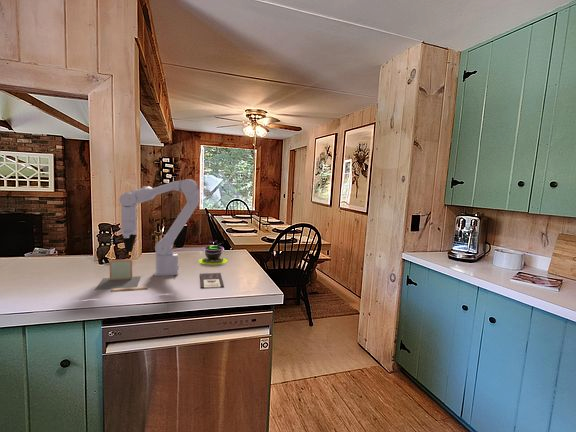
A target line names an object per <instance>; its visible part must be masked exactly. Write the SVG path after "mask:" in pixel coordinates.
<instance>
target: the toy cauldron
mask: <svg viewBox="0 0 576 432" xmlns="http://www.w3.org/2000/svg"><path fill="white" fill-rule="evenodd" d="M217 241H218V240H216V242H217ZM210 243H213V241H210ZM221 244H222V243H219V245H218V244H216V245H208V246H204V247H202V248H201V249H202V251H203V252H204V255H205V257H202V258H200V259H198V263H199V264H202V265H208V266H209V265H211V266H214V265H216V266H217V265H222V264H226V263H227V262H228V259H226V258H225V257H221V256H222V253H223V252H224V249H225V248H224V247H223V246H220V245H221Z"/></svg>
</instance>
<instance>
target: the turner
mask: <svg viewBox="0 0 576 432" xmlns="http://www.w3.org/2000/svg"><path fill="white" fill-rule="evenodd" d="M148 289H149V286H137V287H130V288H114V289H110V290H111V291H110V292H112V293H113V292H123V291H124V292H125V291H140V290H141V291H143V290H148Z"/></svg>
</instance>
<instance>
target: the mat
mask: <svg viewBox="0 0 576 432" xmlns="http://www.w3.org/2000/svg"><path fill="white" fill-rule="evenodd" d="M141 277H142V276H141V275H140V276H133V278H132V279H125V280H110V277H103V278H102V279H101V280H100V282H99V283H98V284H97V286H96V287H95V288H94V291H101V290H102V291H105V290H112V289H114V288H130V287H139V286H138V285H139V283H140V281H141Z"/></svg>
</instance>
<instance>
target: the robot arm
mask: <svg viewBox="0 0 576 432" xmlns="http://www.w3.org/2000/svg"><path fill="white" fill-rule="evenodd" d="M171 191H177V192H182V193H183V194H184V196H185V200H186V203H185V205H184V206H183V208H182V210H180V212H179V214H178V216H177V217H176V219H175V220H174V221H173V223H172V225H171V226H170V227H169V229H168V230H167V232H166V233H165V235H164V236H163V237H162V238H161V239H160V240H159V241H158V242H156V243H155V245H154V250H155V271H154V274H153V276H170V275H171V276H178V273H179V272H178V271H179V265H178V263H179V258H178V256H179V254H178V253H174V251H173V250H172V249H173V247H174V244H175V241H176V239H177V237H178V236H179V234H180V233H181V231H182V230H183V228H184V227H185V225H186V224H187V223H188V221H189V219H190V218H191V216H192V215H193V214H194V211H195V210H196V209H197V207H198V206H199V204H200V201H199V200H200V196H199V195H200V194H199V192H200V191H199V187H198V183H197V182H196V181H195V179H190V178H185V179H183V180H174V181H171V182H168V183H165V184H161V185H159V186H155V187H151V186H149V185H148V186H146V185H143V186H142V187H141V188H139V189H138V188H137V189H136V190H135V189H130V192H127V191H126V192H124V193H121V195H120V197H119V203H120V204H121V212H120V213H121V215H120V216H121V219H120V220H121V230H118V233H119V234H122V235H121V236H120V239H121V240H122V242H123V245H124V248H125V249H124V250H125V252H126V253H132V252H133V250H134V245H135V241H136V238H137V237H138V234H137V233H138V230H137V221H138V220H137V205H138V204H142V203H146V202H148V201H152V200H155V197H156V195H160V194H164V193H167V192H168V193H169V192H171Z"/></svg>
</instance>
